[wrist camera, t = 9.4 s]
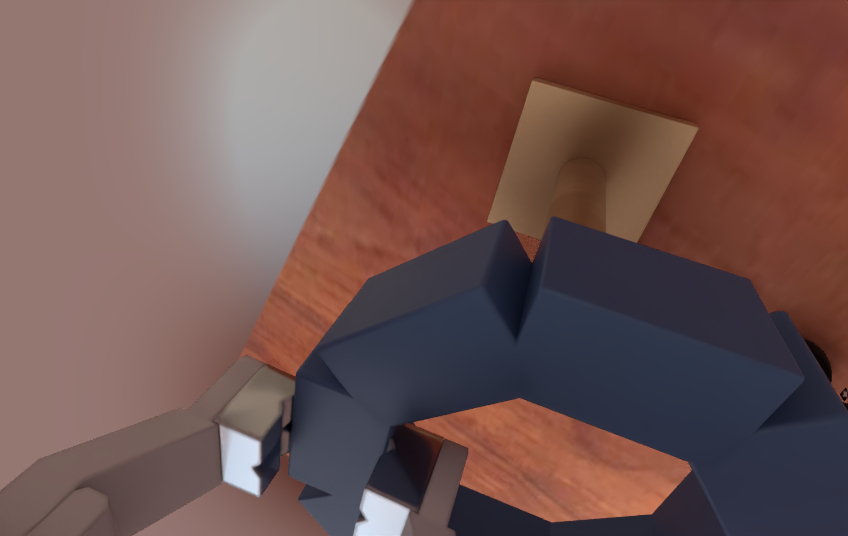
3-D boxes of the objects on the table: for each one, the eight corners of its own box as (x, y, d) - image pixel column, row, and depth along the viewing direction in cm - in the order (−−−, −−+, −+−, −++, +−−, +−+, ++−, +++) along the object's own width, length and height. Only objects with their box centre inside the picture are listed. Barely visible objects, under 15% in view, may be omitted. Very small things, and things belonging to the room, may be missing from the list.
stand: (695, 123, 22) (758, 210, 13) (622, 260, 27) (632, 395, 18) (534, 76, 24) (492, 128, 15) (489, 215, 28) (436, 319, 19)
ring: (976, 351, 7) (1125, 489, 5) (659, 614, 13) (672, 730, 11) (372, 156, 8) (306, 206, 6) (323, 471, 14) (280, 550, 12)
